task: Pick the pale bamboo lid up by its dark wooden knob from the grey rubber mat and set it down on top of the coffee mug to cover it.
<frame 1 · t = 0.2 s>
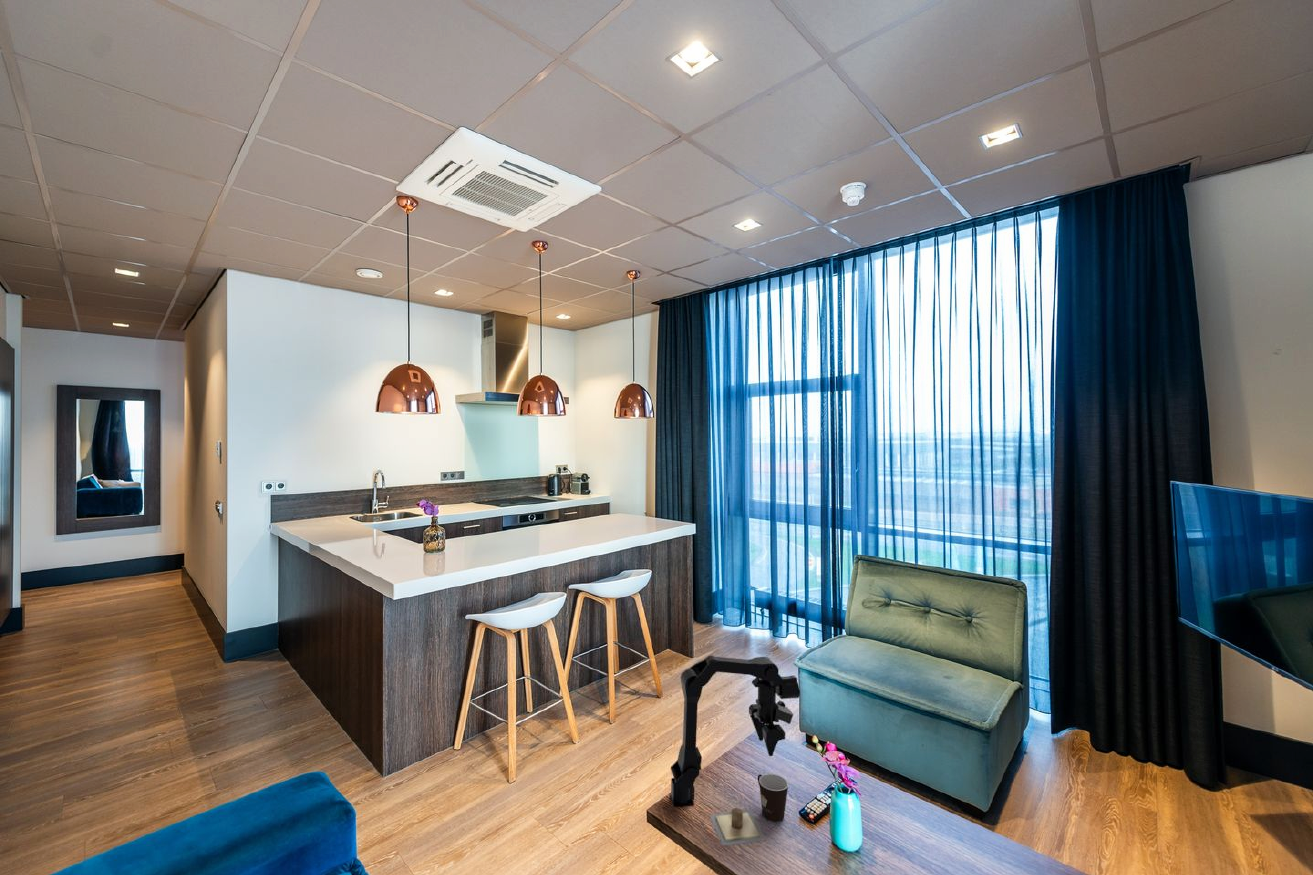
hand: (765, 747, 177), 14 cm above the table, fingers open, 9 cm apart
coffee mug: (772, 813, 167), on the table
mat: (737, 828, 160), on the table
lid: (737, 827, 160), resting on mat
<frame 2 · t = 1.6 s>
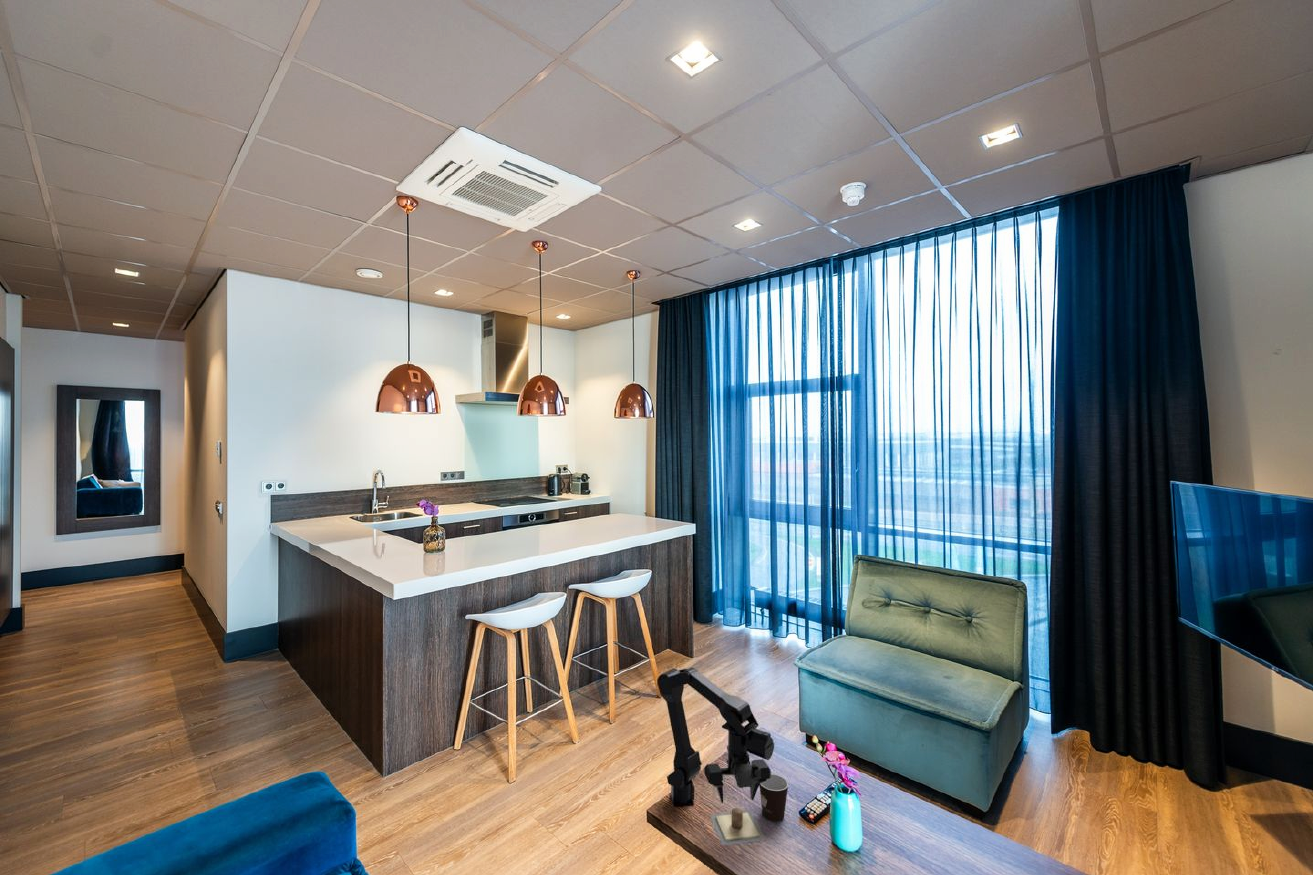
hand: (737, 800, 160), 8 cm above the table, fingers open, 9 cm apart
nothing on the table moved.
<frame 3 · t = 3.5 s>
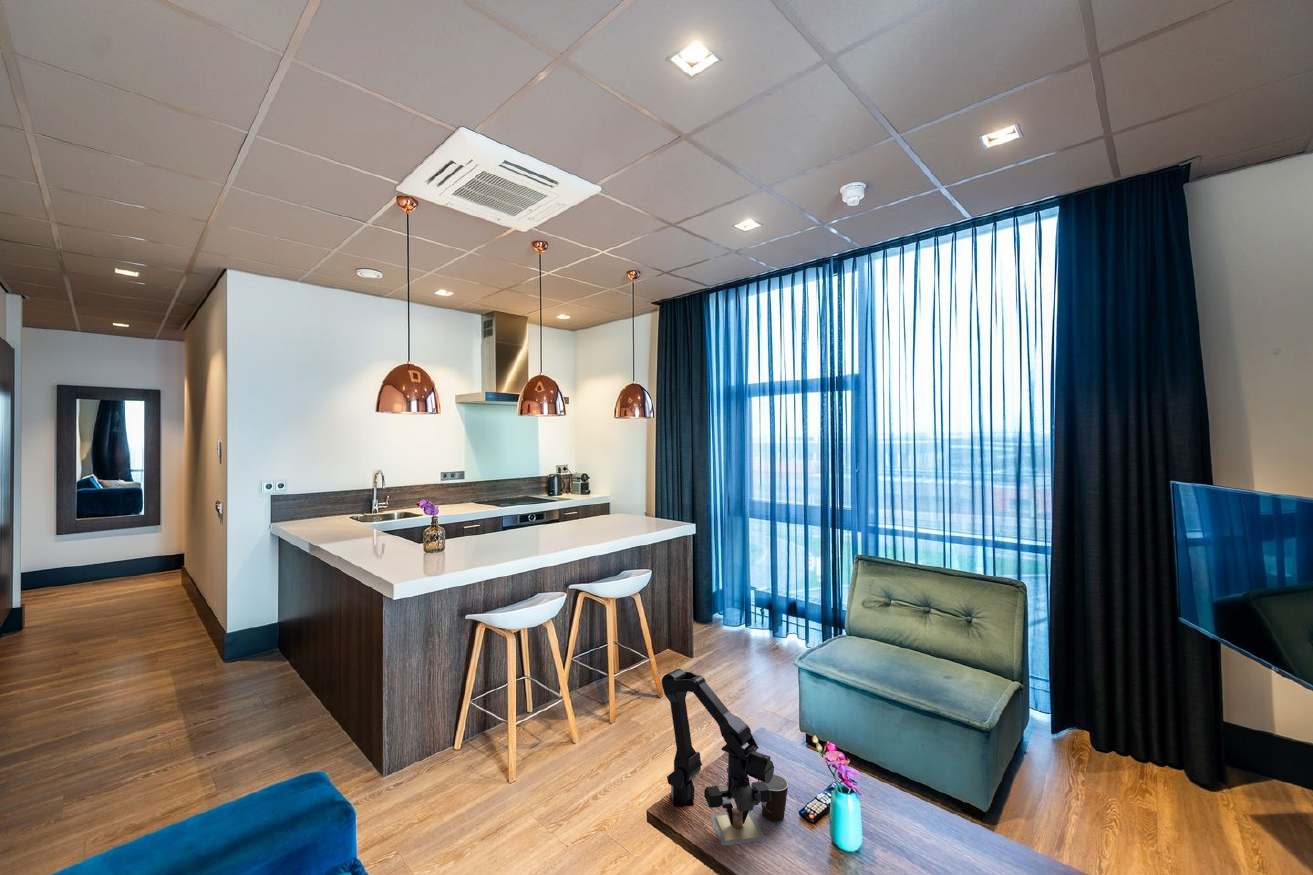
hand: (737, 823, 160), 1 cm above the table, fingers closed on lid, 3 cm apart
lid: (737, 827, 160), resting on mat, touching gripper
everything else where it was.
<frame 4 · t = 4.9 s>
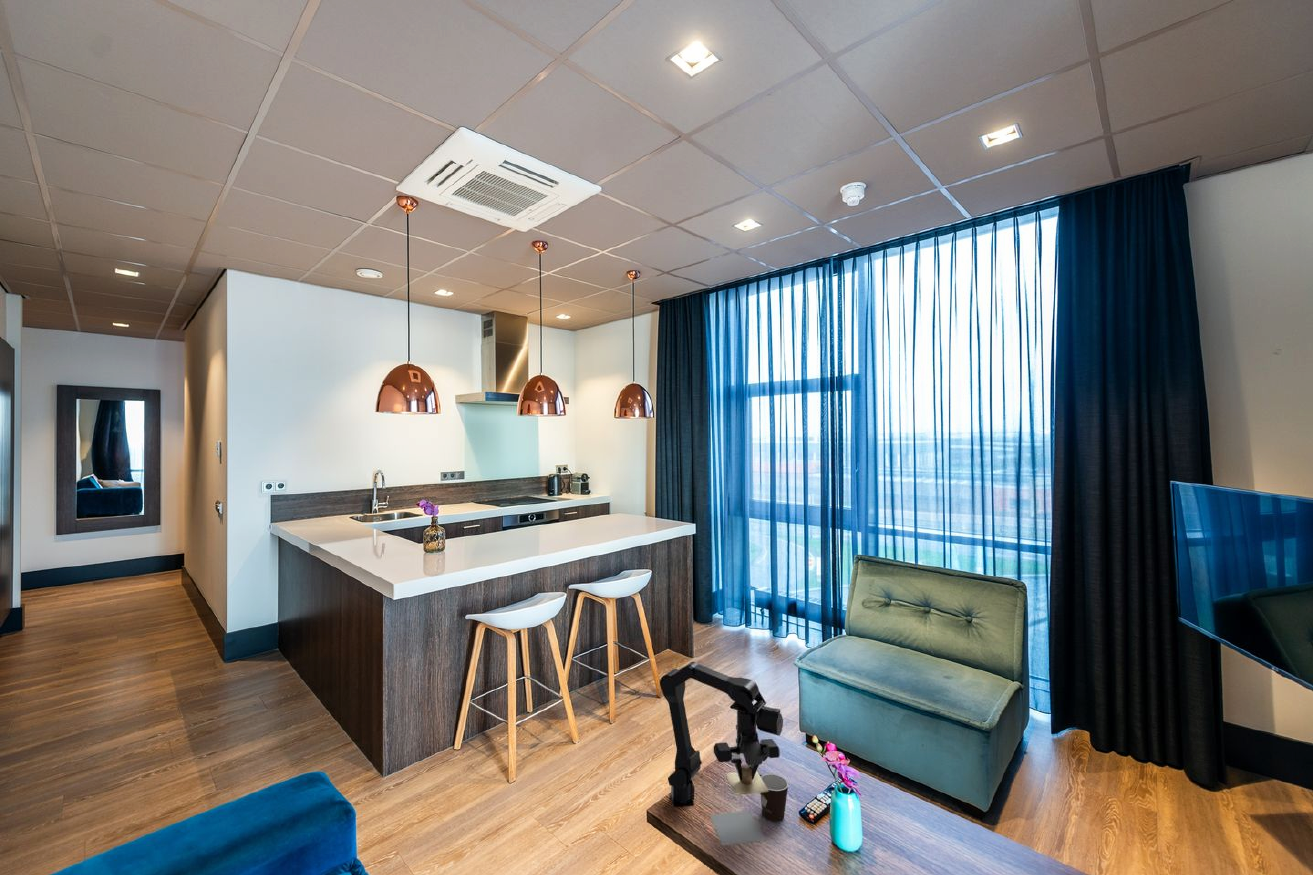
hand: (746, 779, 162), 13 cm above the table, fingers closed on lid, 3 cm apart
lid: (746, 783, 162), point 12 cm above the table, touching gripper
everything else where it was.
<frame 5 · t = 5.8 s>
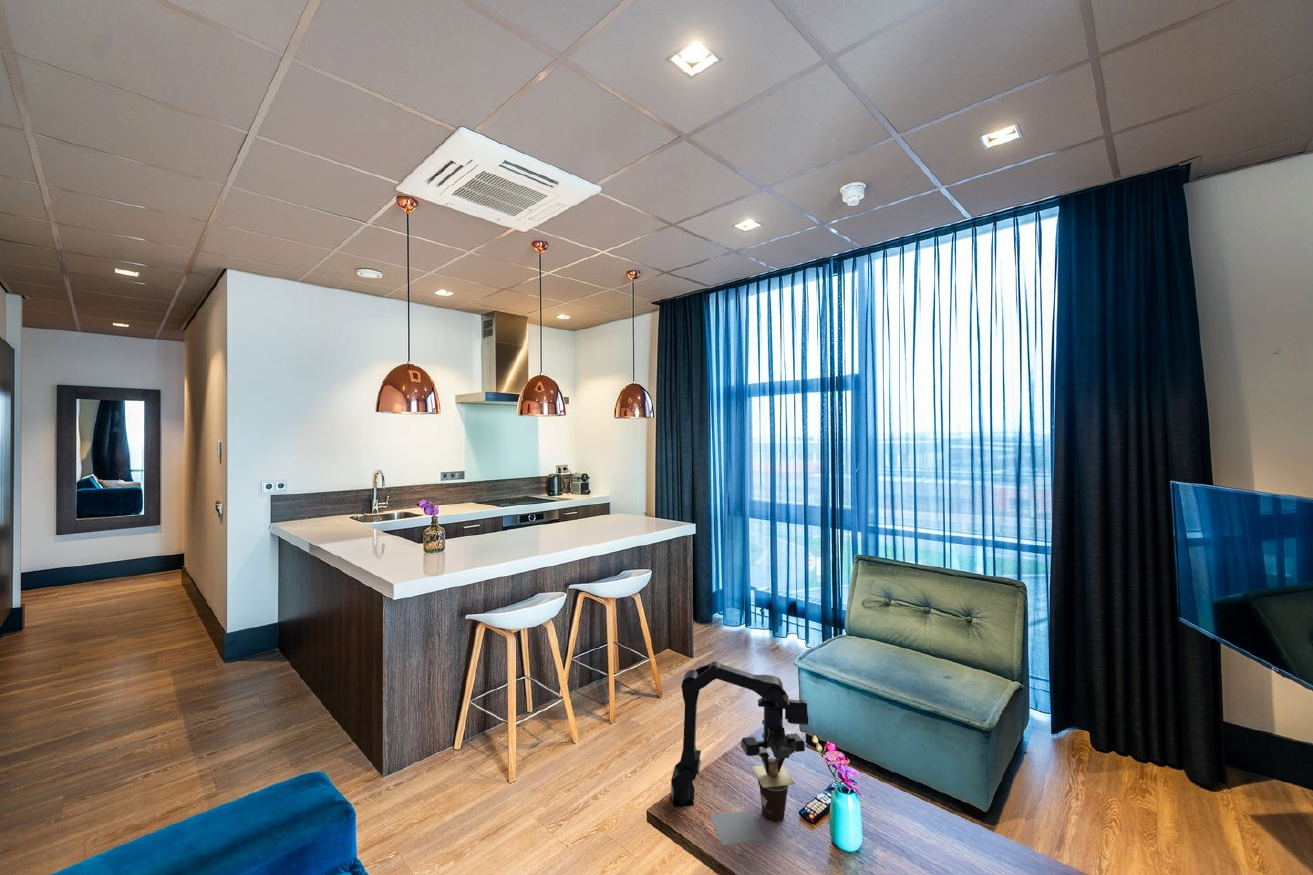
hand: (772, 772, 168), 12 cm above the table, fingers closed on lid, 3 cm apart
lid: (772, 775, 168), point 11 cm above the table, touching gripper
everything else where it was.
when the fingers open (12 cm above the table, at t = 6.5 s): lid stays where it is, resting on coffee mug.
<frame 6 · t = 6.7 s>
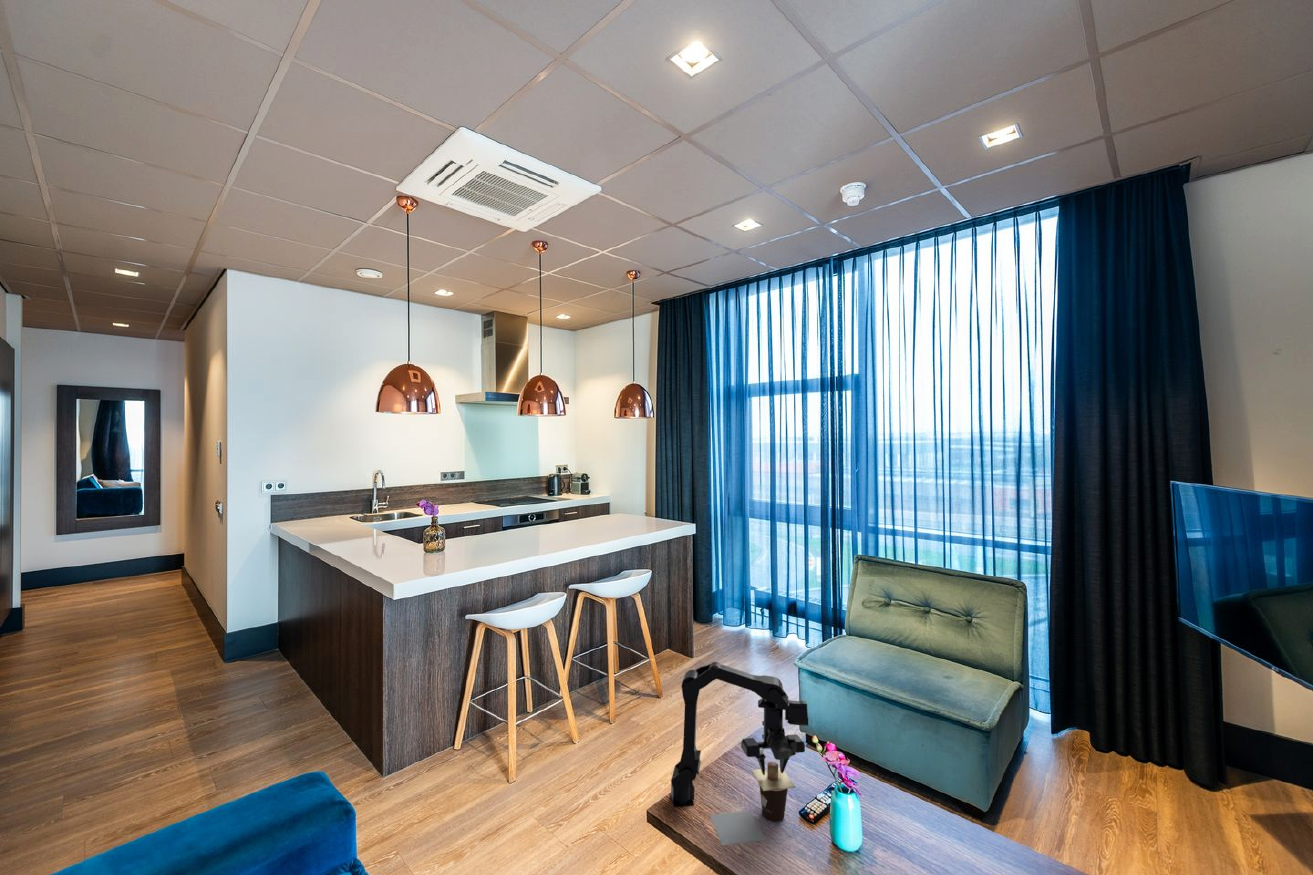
hand: (772, 773, 168), 12 cm above the table, fingers open, 6 cm apart
coffee mug: (772, 813, 167), on the table, touching lid
lid: (772, 779, 168), point 10 cm above the table, touching coffee mug
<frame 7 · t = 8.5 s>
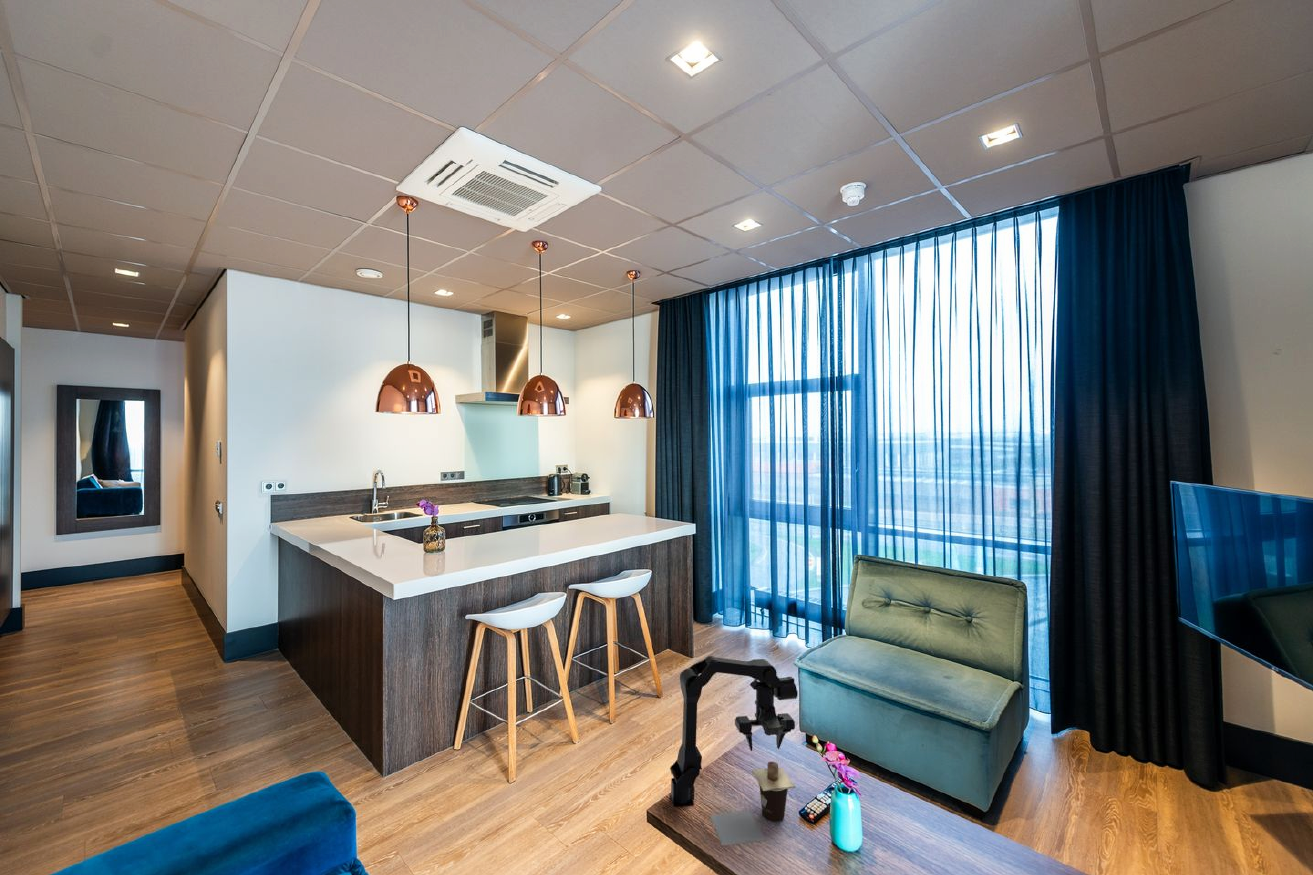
hand: (764, 749, 179), 13 cm above the table, fingers open, 9 cm apart
nothing on the table moved.
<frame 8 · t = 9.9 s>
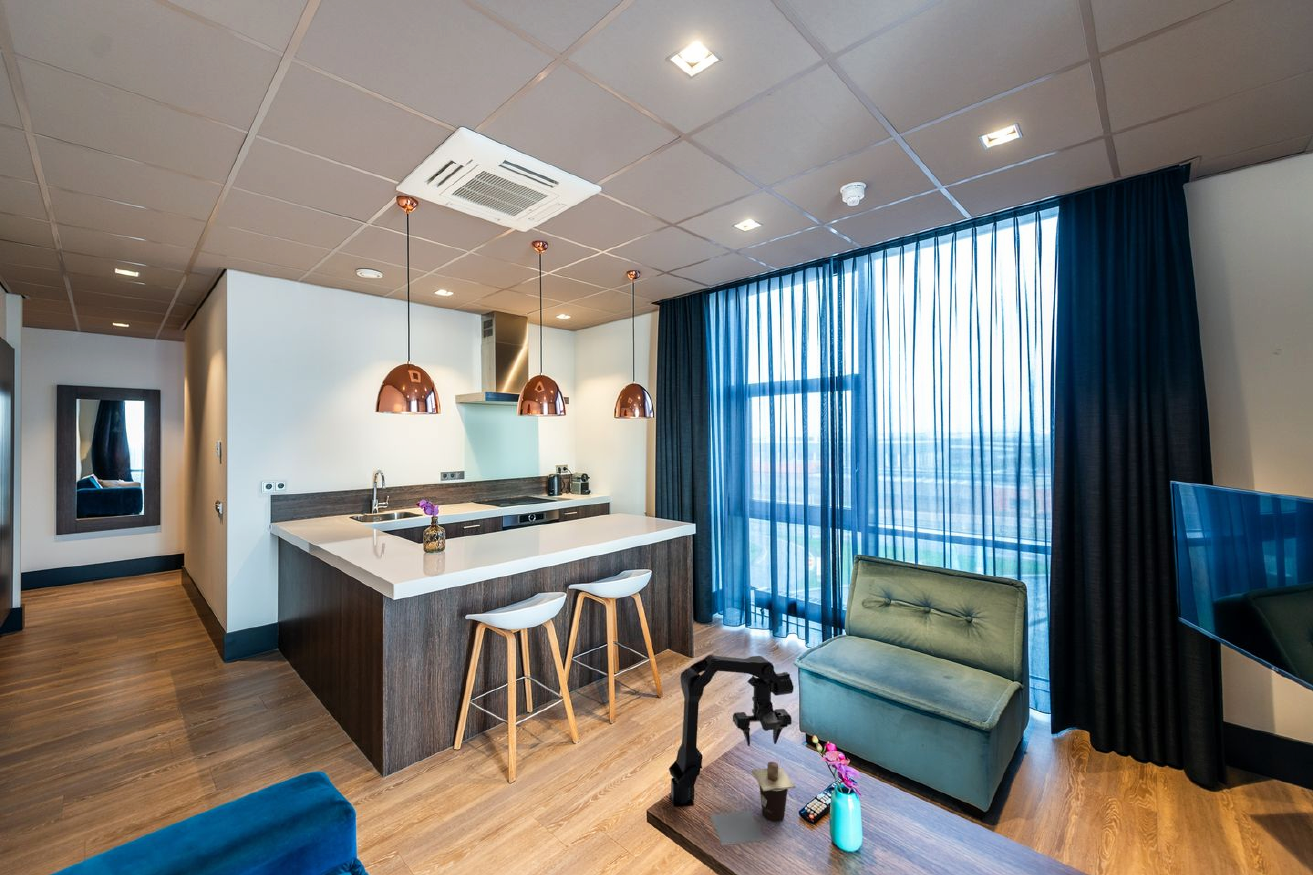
hand: (761, 744, 182), 13 cm above the table, fingers open, 9 cm apart
nothing on the table moved.
at the end: lid 0.2 cm off-centre on the coffee mug, point 10.2 cm above the coffee mug's base; lid tilted 0°; lid touching coffee mug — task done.
